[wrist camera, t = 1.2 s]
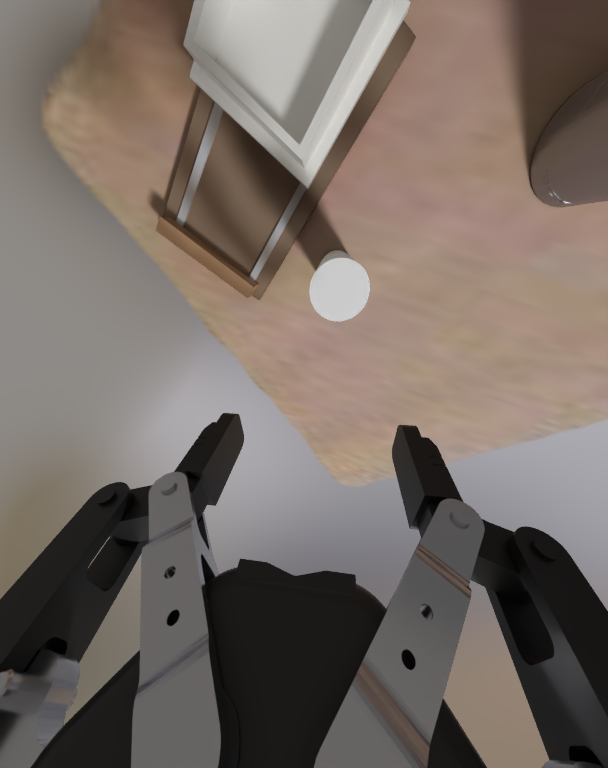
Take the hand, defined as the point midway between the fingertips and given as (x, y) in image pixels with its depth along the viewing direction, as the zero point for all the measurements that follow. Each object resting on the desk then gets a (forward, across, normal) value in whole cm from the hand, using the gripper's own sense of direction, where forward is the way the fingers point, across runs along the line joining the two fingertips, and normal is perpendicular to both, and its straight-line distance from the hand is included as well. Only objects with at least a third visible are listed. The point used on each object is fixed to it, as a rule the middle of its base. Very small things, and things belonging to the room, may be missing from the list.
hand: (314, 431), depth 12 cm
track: (+24, +7, -16) cm, 30 cm away
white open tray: (+23, +4, -21) cm, 31 cm away
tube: (+24, -1, -5) cm, 25 cm away
